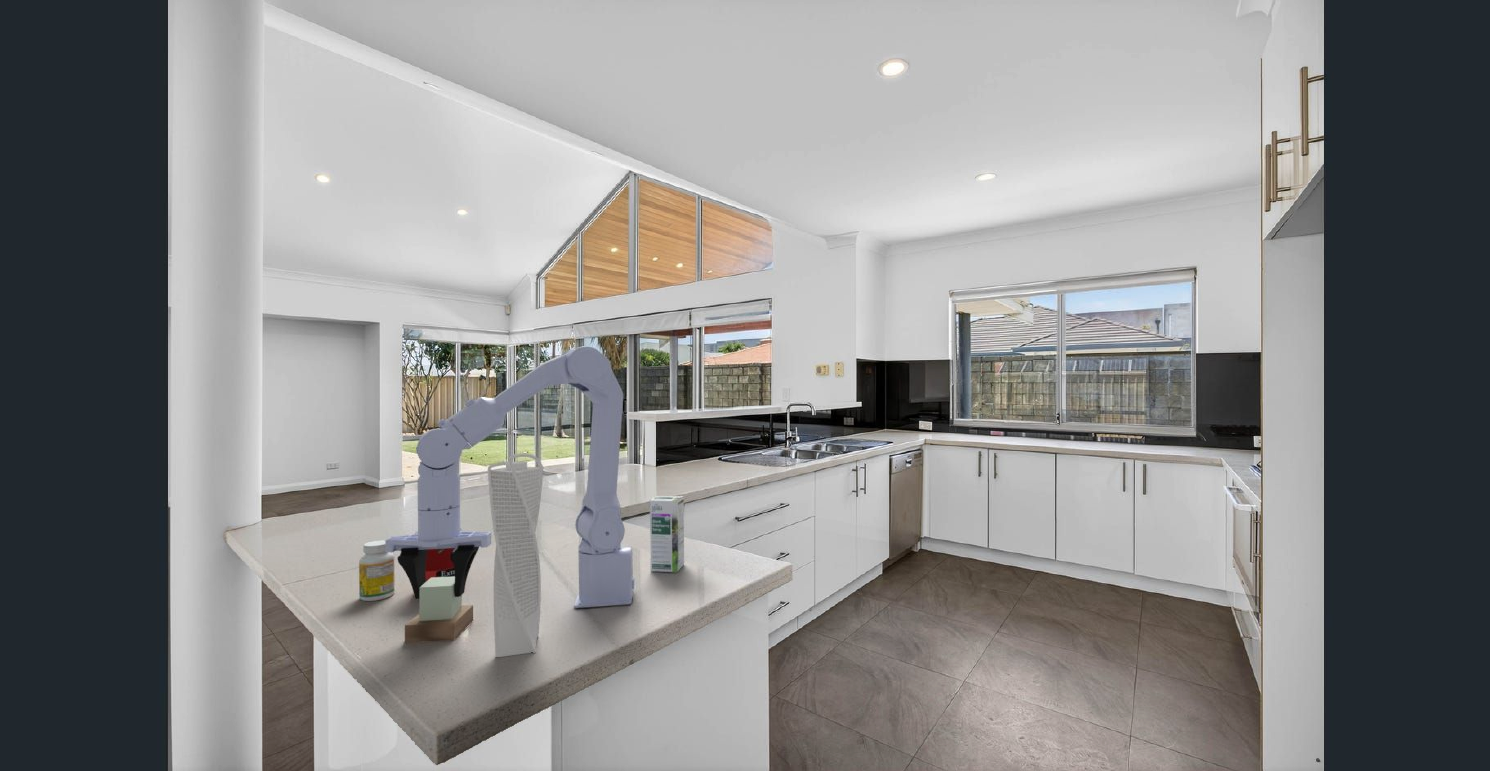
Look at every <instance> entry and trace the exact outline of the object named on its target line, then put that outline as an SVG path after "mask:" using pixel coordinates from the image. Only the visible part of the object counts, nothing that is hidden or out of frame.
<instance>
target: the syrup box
mask: <svg viewBox="0 0 1490 771" xmlns="http://www.w3.org/2000/svg"><path fill="white" fill-rule="evenodd" d="M684 500H685V499H684V495H683V496H682V495H681V496H677V495H676V496H674V495H673V496H671V495H668V496H667V495H665V496H664V495H656V496H654V497H653V498H651V499H650V501H649V524H650V526H649V528H650V535H649V536H650V564H649V565H650V572H651V573H654V572H657V573H658V572H659V573H660V572H661V573H678V572H679V571H680V570H681V569H682V567H683V566H684V564H685V524H684V523H685V520H684V518H685V517H684V516H685V511H684V510H685V509H684V508H685V507H684V506H685V505H684V502H685V501H684Z"/></svg>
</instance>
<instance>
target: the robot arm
mask: <svg viewBox="0 0 1490 771" xmlns="http://www.w3.org/2000/svg"><path fill="white" fill-rule="evenodd" d="M611 364H612V363H611V360H609V359H608V358H607V357H606V356H605V355H604V354H602V352H601V351H599V350H598V349H597V348H594V347H593V346H589V345H584V346H579V347H577V348H575V349H570V350H565V351H564V352H563V353H561V355H558V356H556V357H553V358H551V359H549V360H547V361H545V362H542V363H541V364H540V365H538V366H536V367H535V368H534V369H533V370H531V371H530V372H528V373H526V374H525V375H524V376H522V377H521V378H519V379H518V380H517V381H516V382H514V383H513V384H511V385H510V386H509V387H507V388H506V389H505V390H503V391H501V392H500V393H498V394H497V395H496V396H495V397H493V398H491V397H485V396H480V397H478V398H477V399H475V400H474V399H473V398H470V399H468V400H467V401H465V402H464V404H465V407H464V408H462V409H460V410H459V411H458V412H455V413H454V414H453V415H451V416H450V417H448V418H446V419H444V418H442V419H440V420H438V421H437V424H438V426H439V428H432V429H430V430H427V431H425V432H424V433H423V434H422V435H421V437H420V438H419V439H418V442H417V445H416V447H415V450H416V451H415V452H416V454H417V456H418V458H419V460H420V461H419V465H418V466H417V467H418V468H417V473H418V475H419V477H418V478H417V532H418V534H415V533H414V534H408V535H407V534H406V535H398V536H390V537H389V538H386V539H385V551H386V553H389V552H391V553H394V552H400V554H399V555H398V556H397V563H398V564H399V565H400V566H401V568H402V569H403V571H404V573H405V574H406V576H407V579H408V580H409V583H410V586H411V589H412V592H413V595H414V599H415V600H419V597H420V587H421V586H422V585H423V584H424V583H425V582H426V576H425V570H426V559H427V552H428V549H442V548H458V550H456V551H455V552H453V553H452V559H453V564H454V572H455V597H460V596H461V595H462V596H463V594H464V593H465V589H466V584H467V580H468V579H467V578H468V575H469V572H470V569H471V567H472V565H473V562H474V559H475V557H476V555H477V553H478V551H479V549H480V548H489V546H491V545H492V531H464V530H461V531H460V528H461V489H460V488H461V486H460V485H461V483H460V482H461V481H460V480H461V477H460V475H459V459H460V458H461V456H462V454H463V451H464V450H470V449H472V448H473V447H474V446H476V445H477V444H479V443H480V442H482V441H483V440H485V439H486V438H488V437H489V436H490V435H492V434H494V433H495V432H496V431H497V430H499V429H500V428H502V427H503V426H504V424H505V418H506V415H507V413H510V412H511V411H512V410H514V409H515V408H516V407H518V406H520V405H521V404H523V403H524V402H526V401H527V400H529V399H531V398H532V397H534V396H535V395H537V394H538V393H540V392H541V391H543V390H545V389H546V388H548V387H551V386H557V385H565V384H568V385H570V386H572V387H574V388H576V389H578V390H579V391H580V392H581V393H582V394H584V395H585V396H586V398H587V399H589V401H590V402H591V403H592V416H591V426H590V427H591V428H590V439H589V440H590V441H589V442H590V443H589V444H590V445H589V454H588V456H589V457H588V470H587V482H586V483H587V486H586V492H585V494H584V496H583V498H582V503H581V505H582V506H581V508H580V512H579V513H578V514H577V516H576V519H575V524H574V525H575V529H576V532H577V534H578V536H579V537H580V538H581V540H580V543H579V545H578V548H577V549H578V552H577V553H578V593H577V596H576V598H575V601H574V604H573V608H575V609H579V608H582V609H583V608H594V607H608V606H624V605H631V604H632V601H633V600H632V598H633V593H634V589H635V578H634V568H633V567H634V563H633V562H634V561H633V560H634V558H633V555H634V554H633V547H632V546H623V545H622V544H621V543H622V541H623V540H624V537H625V533H626V531H625V530H626V529H625V528H626V527H625V525H624V522H623V520H622V516H621V510H622V507H621V504H620V501H619V497H618V494H617V490H618V478H619V477H618V475H619V461H620V448H621V447H620V446H621V434H622V421H623V420H622V419H623V405H624V403H623V402H624V393H623V390H622V388H621V385H620V384H619V382H618V380H617V377H616V376H615V374H614V371H613V369H612V365H611Z"/></svg>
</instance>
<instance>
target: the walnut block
mask: <svg viewBox="0 0 1490 771" xmlns="http://www.w3.org/2000/svg"><path fill="white" fill-rule="evenodd" d="M472 621H473V622H474V605H473V604H466V605H465V604H464V605H462V608H461V609H460V610H459V611H458V612H457V614H456V615H455V616H454V617H453V618H452V619H447V620H430V621H419V613H418V614H417V615H416V616H414V618H412V619H410V621H408V622H407V623H406V624H404V644H406V643H407V644H408V643H425V642H426V643H427V642H450V641H452V640H454V641H455V640H457V638H458V637H459V636H460V635H461V634H462V633H463V632H464V631H465V630H466V629H467V628H468V627H469V626H470V625H471V624H472V623H473V622H472ZM471 622H472V623H471ZM470 623H471V624H470ZM469 624H470V625H469ZM468 625H469V626H468ZM467 626H468V627H467ZM466 627H467V628H466ZM465 628H466V629H465ZM452 642H453V641H452Z"/></svg>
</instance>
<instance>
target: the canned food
mask: <svg viewBox="0 0 1490 771" xmlns="http://www.w3.org/2000/svg"><path fill="white" fill-rule="evenodd" d="M460 531H462V528H461V527H460ZM415 534H418V531H416V532H415V533H414V535H415ZM456 550H458V548H442V549H428V552H427V559H426V570H425V576H426V582H427V581H428V580H429V579H430V578H433V577H454V576H455V572H454V564H453V559H452V553H453V552H455V551H456Z"/></svg>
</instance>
